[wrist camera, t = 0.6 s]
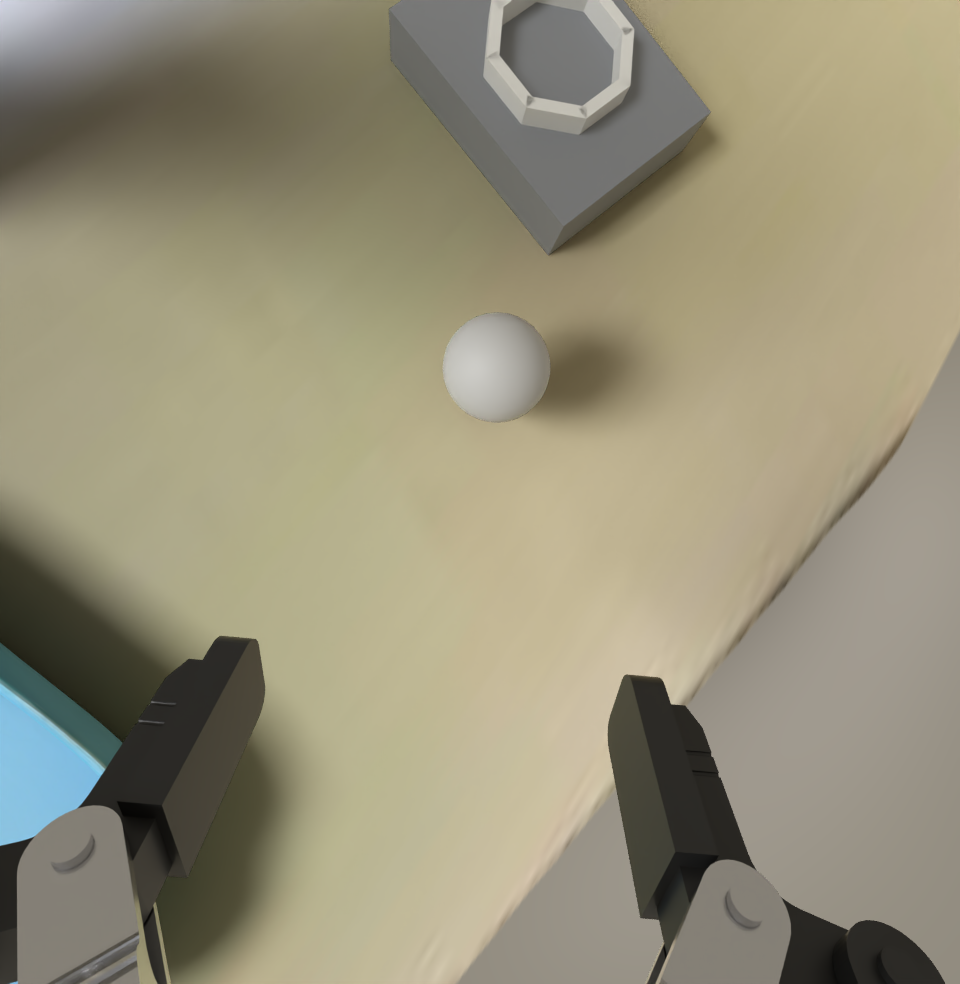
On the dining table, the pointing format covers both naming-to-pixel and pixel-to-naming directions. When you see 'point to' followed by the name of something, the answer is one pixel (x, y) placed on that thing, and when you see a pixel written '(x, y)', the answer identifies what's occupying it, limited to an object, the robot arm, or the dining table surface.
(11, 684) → the casserole dish
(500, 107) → the grey ring holder base
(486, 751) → the dining table surface
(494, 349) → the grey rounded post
